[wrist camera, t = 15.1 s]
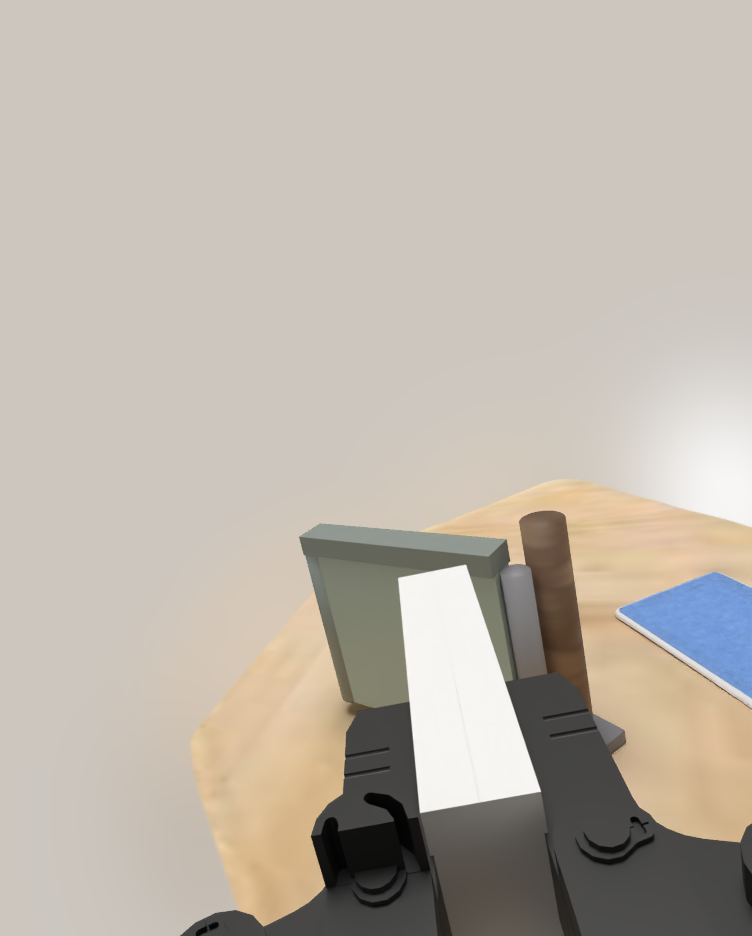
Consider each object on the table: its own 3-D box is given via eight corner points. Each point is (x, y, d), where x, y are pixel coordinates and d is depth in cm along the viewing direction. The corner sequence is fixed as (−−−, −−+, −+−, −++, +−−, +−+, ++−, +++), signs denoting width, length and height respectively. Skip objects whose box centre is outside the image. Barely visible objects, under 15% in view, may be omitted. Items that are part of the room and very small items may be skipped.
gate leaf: (564, 740, 47) (534, 541, 43) (550, 764, 46) (517, 559, 41) (354, 682, 60) (314, 523, 55) (335, 699, 58) (292, 536, 53)
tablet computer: (919, 676, 49) (919, 660, 49) (785, 739, 46) (784, 723, 46) (717, 579, 67) (716, 568, 67) (611, 620, 64) (609, 608, 64)
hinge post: (571, 712, 52) (540, 500, 47) (625, 741, 48) (597, 513, 43) (526, 745, 50) (488, 525, 45) (579, 779, 46) (544, 542, 41)
